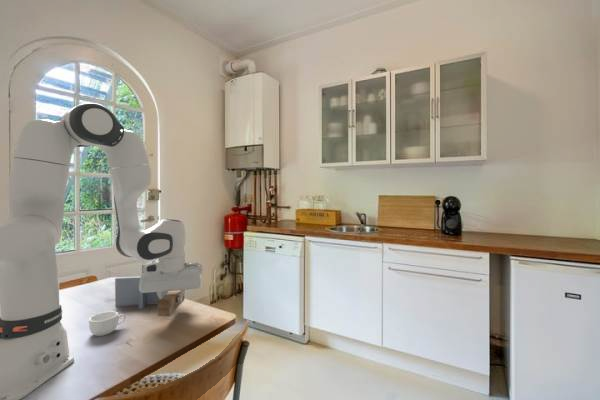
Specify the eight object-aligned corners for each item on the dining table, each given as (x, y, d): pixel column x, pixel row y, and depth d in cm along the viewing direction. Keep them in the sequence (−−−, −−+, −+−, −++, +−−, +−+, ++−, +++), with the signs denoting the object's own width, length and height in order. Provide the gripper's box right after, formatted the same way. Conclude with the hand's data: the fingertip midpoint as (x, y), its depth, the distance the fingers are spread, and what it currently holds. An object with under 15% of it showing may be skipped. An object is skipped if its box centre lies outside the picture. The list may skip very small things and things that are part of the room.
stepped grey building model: (163, 307, 111) (162, 261, 111) (110, 310, 108) (109, 263, 108) (168, 301, 118) (167, 257, 117) (118, 303, 114) (117, 259, 114)
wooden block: (168, 316, 94) (168, 297, 94) (157, 316, 94) (157, 297, 94) (185, 299, 110) (185, 283, 110) (175, 299, 110) (175, 283, 110)
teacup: (91, 341, 85) (91, 323, 85) (86, 332, 91) (86, 316, 91) (128, 330, 93) (128, 313, 92) (122, 322, 98) (122, 307, 98)
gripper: (202, 260, 107) (202, 296, 107) (142, 263, 101) (142, 301, 101) (202, 264, 101) (201, 302, 101) (137, 267, 95) (137, 308, 95)
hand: (171, 302), depth 101 cm, fingers closed on wooden block, 4 cm apart
